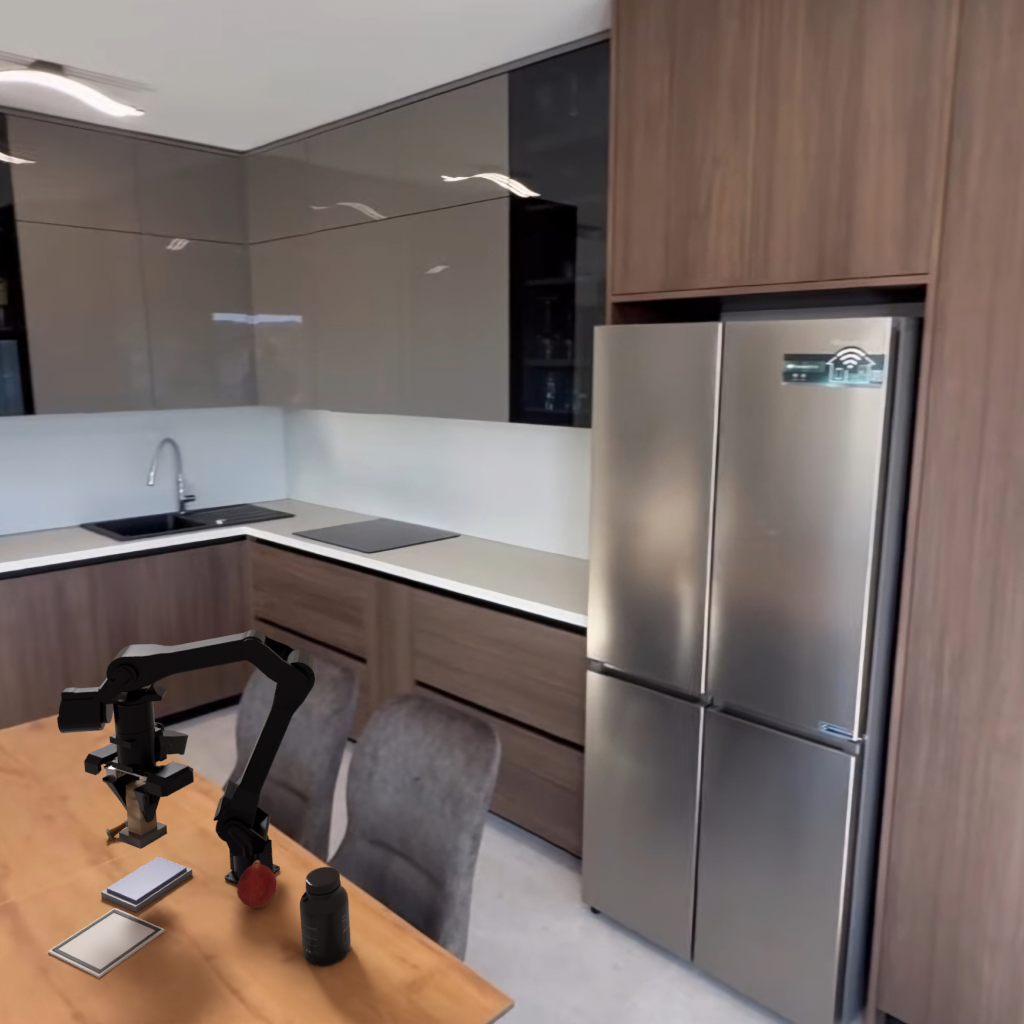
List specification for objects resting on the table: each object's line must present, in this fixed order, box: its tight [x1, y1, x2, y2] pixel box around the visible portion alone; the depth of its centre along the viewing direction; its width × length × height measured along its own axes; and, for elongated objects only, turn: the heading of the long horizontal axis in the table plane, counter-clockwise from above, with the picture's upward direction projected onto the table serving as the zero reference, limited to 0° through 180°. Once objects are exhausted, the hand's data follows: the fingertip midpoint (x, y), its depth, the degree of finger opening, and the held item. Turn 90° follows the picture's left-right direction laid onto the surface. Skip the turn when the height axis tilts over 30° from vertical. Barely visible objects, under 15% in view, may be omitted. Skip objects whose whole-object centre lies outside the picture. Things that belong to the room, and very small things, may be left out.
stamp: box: [118, 778, 168, 850], centre depth 132 cm, size 5×5×9 cm
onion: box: [236, 860, 277, 910], centre depth 129 cm, size 6×6×8 cm
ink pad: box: [100, 856, 193, 913], centre depth 135 cm, size 8×11×2 cm
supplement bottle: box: [299, 866, 352, 967], centre depth 118 cm, size 7×7×12 cm
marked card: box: [47, 907, 166, 979], centre depth 121 cm, size 11×11×1 cm
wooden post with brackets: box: [105, 819, 128, 841], centre depth 150 cm, size 2×8×4 cm, turn 120°
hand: (142, 818), depth 133 cm, fingers closed on stamp, 3 cm apart
